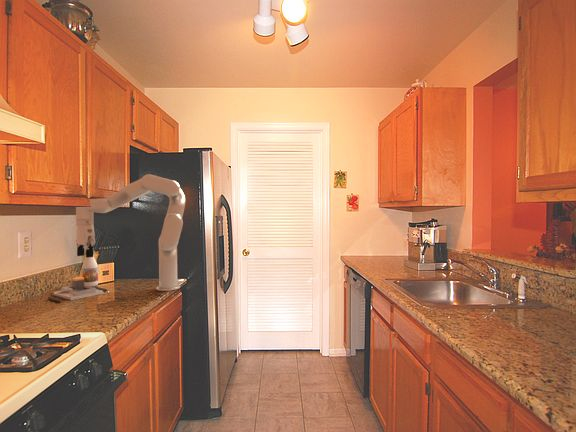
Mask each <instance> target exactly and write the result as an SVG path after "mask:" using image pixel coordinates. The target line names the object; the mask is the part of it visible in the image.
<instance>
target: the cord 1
mask: <svg viewBox="0 0 576 432" xmlns="http://www.w3.org/2000/svg"><path fill="white" fill-rule="evenodd" d="M48 300H51V301H54V302H56V303H59V304H61V303H62V302H63V301H62V299H58V298H56V297H52V296H49V297H48Z"/></svg>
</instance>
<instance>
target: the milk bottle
mask: <svg viewBox="0 0 576 432" xmlns="http://www.w3.org/2000/svg"><path fill="white" fill-rule="evenodd" d="M84 256H85V259H84V261H83V264H82V271H81V272H82V273H81V274H82V275H81V277H84V285H86V286H90V287H95V286H96V287H97V286H99V285H98V284H99V270H98V269H99V268H98V263H97V260H96V258H95V251H93V257H88V258H87V257H86V251H84Z"/></svg>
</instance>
